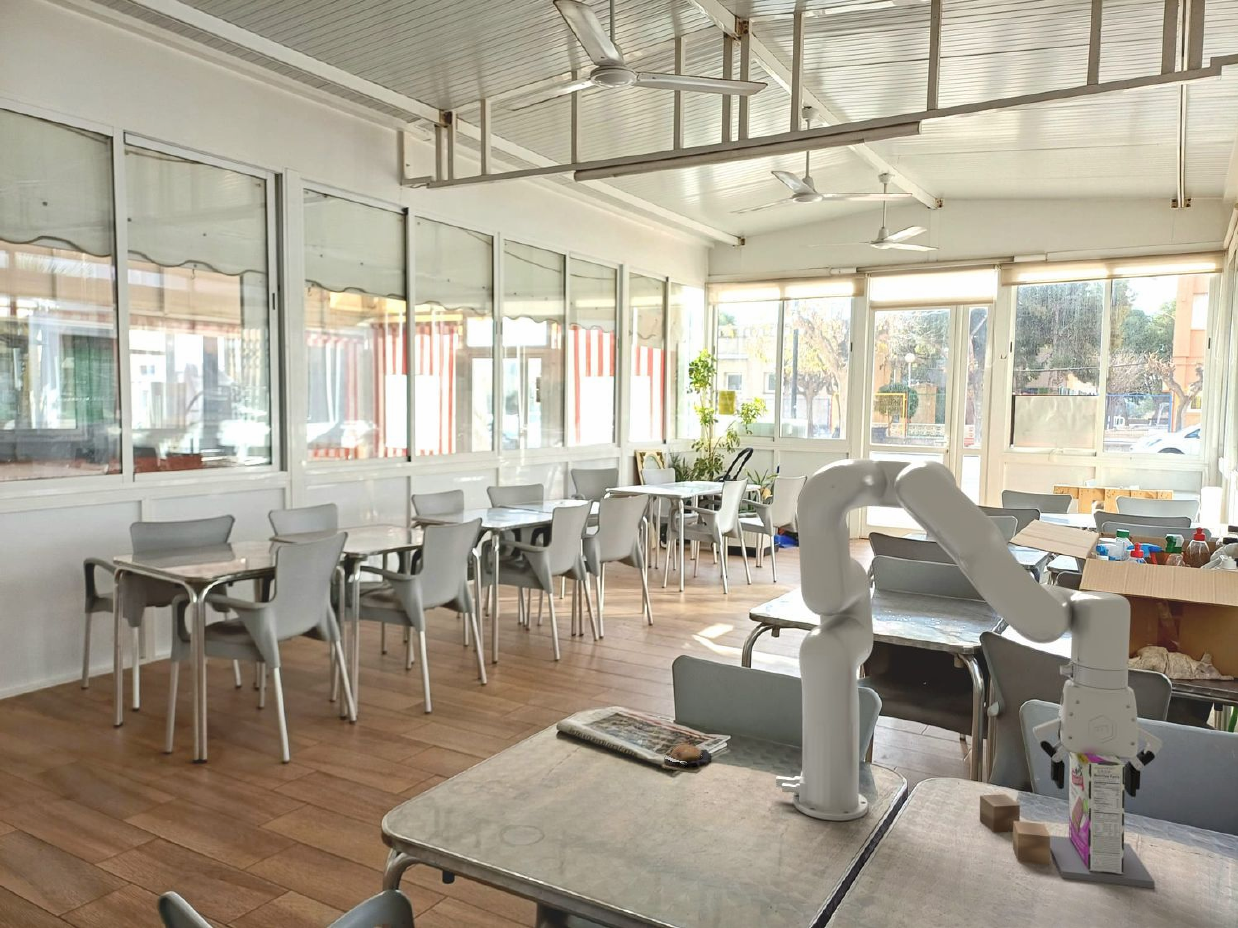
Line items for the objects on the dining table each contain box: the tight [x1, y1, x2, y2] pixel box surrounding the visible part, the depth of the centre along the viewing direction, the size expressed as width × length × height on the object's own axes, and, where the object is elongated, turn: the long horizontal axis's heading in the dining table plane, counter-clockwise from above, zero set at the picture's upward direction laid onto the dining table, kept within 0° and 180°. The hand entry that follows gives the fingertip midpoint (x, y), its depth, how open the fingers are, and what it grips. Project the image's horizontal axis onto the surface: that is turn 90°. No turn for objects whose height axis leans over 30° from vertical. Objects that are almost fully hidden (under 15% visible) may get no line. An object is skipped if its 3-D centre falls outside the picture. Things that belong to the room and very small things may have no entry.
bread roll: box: [661, 744, 712, 774], centre depth 175 cm, size 11×8×4 cm
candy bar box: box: [1068, 752, 1126, 875], centre depth 133 cm, size 11×5×16 cm, turn 167°
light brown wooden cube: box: [1012, 821, 1051, 866], centre depth 136 cm, size 4×4×4 cm
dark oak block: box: [979, 793, 1021, 834], centre depth 146 cm, size 4×4×4 cm
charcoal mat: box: [1049, 834, 1155, 889], centre depth 133 cm, size 12×12×1 cm
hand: (1094, 789), depth 133 cm, fingers open, 9 cm apart
